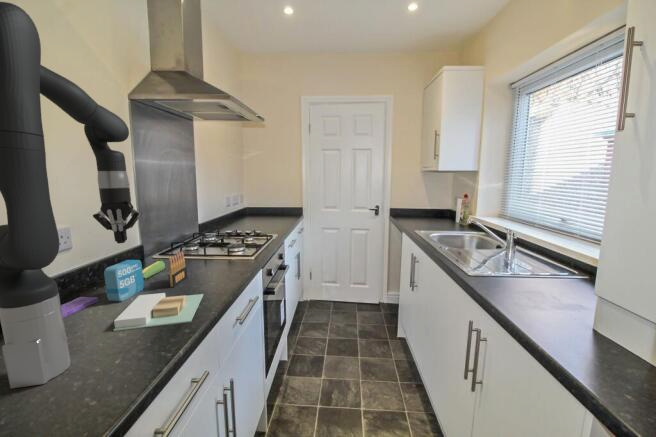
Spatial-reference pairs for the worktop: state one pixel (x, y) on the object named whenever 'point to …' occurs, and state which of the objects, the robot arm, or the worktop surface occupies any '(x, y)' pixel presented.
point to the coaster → (169, 306)
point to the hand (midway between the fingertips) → (121, 242)
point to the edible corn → (153, 269)
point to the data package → (124, 280)
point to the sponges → (77, 305)
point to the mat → (183, 316)
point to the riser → (138, 311)
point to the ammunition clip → (177, 270)
